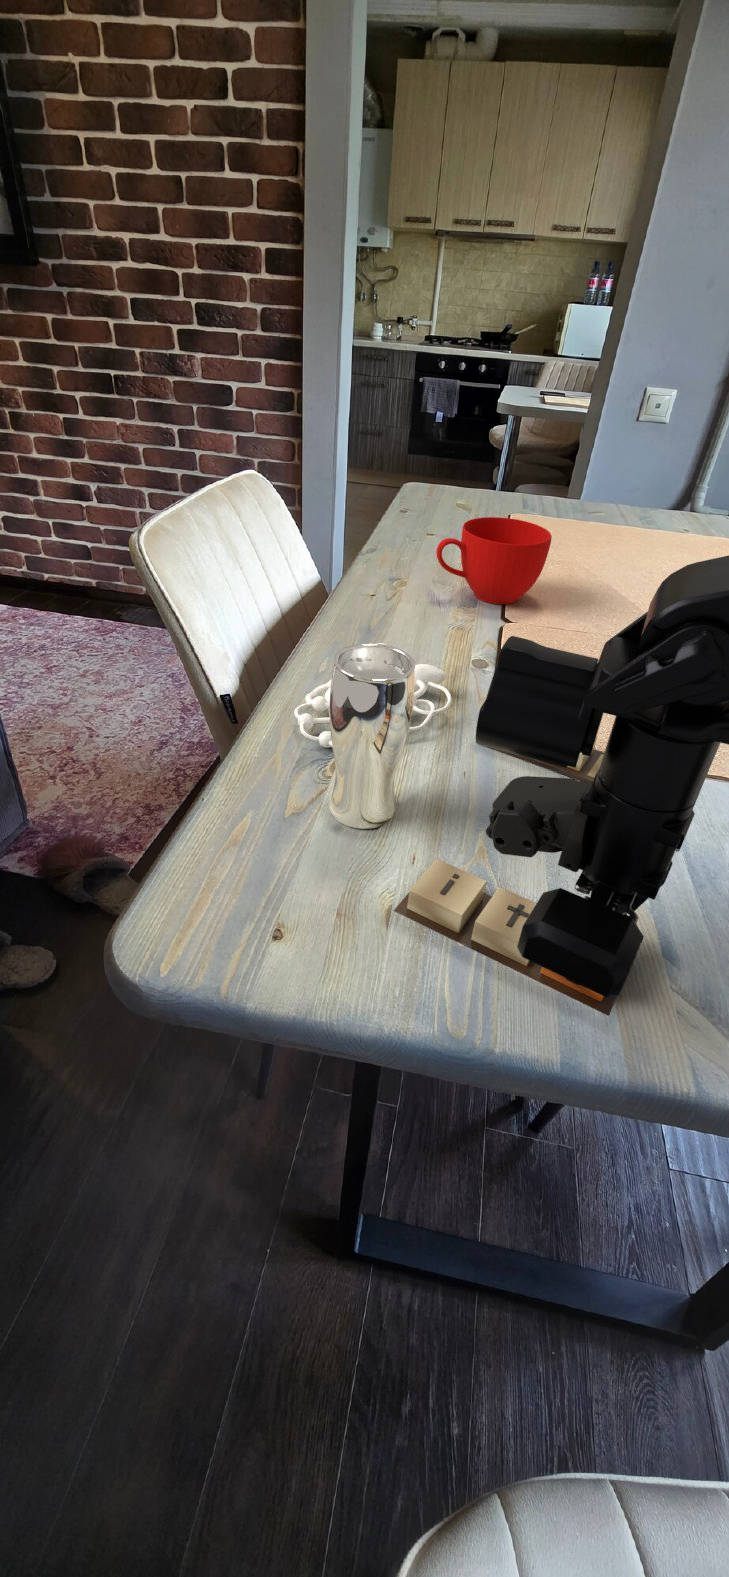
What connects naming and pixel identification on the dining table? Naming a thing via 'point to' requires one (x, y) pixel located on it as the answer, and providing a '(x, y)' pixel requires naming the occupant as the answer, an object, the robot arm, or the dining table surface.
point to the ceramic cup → (499, 557)
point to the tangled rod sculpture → (422, 681)
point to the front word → (480, 921)
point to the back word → (583, 769)
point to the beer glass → (368, 730)
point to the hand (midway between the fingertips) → (583, 958)
